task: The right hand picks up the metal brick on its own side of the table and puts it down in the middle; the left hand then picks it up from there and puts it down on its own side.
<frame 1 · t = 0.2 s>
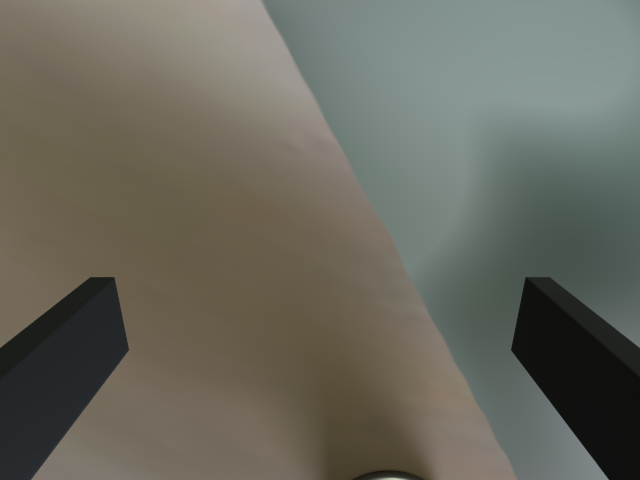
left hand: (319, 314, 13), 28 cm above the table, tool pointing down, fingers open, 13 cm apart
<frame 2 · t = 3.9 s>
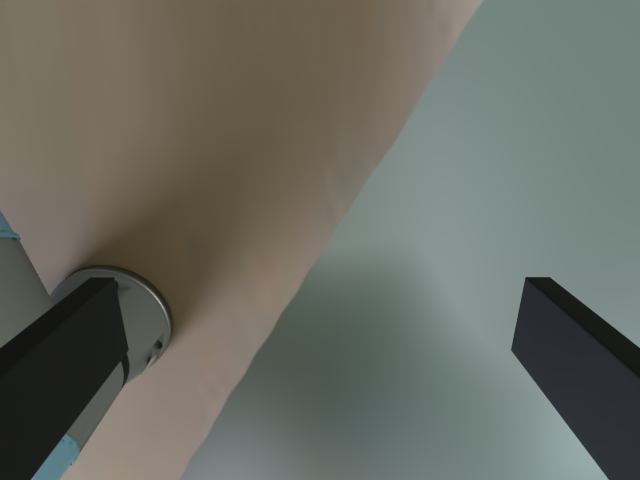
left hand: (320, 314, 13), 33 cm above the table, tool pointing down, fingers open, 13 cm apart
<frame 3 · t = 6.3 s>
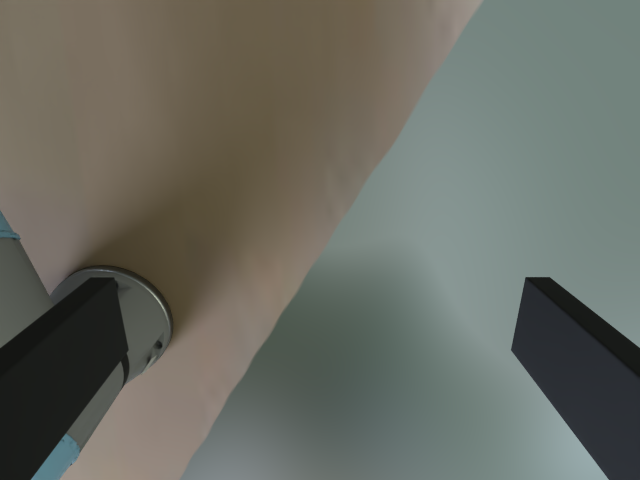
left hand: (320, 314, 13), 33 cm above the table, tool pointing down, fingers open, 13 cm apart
when the right hand's fingers open (3 cm above the table, at t = 9.2 s): brick drops 2 cm, on the table.
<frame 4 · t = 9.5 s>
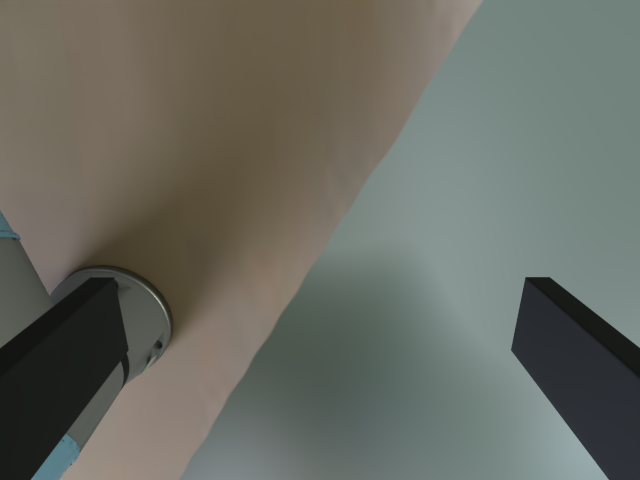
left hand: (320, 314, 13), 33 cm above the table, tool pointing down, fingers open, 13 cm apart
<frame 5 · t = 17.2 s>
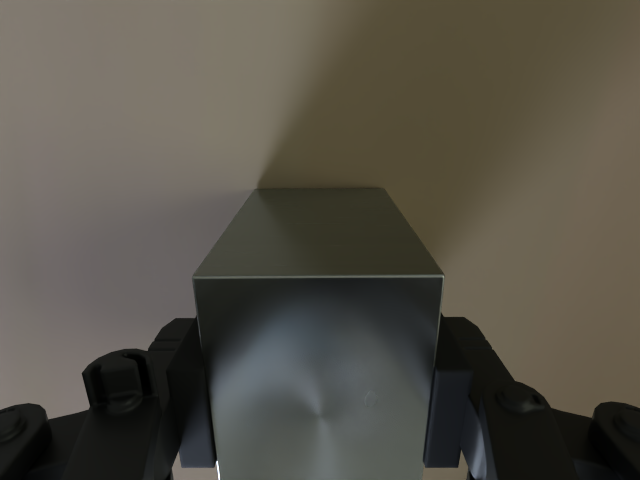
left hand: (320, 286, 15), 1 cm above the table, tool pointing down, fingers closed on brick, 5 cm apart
brick: (319, 271, 16), on the table, touching left hand
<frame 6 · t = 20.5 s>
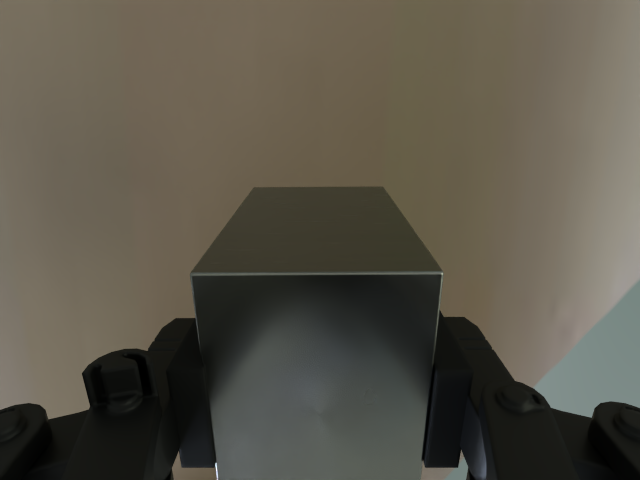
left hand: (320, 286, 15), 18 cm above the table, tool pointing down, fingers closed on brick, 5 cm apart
brick: (319, 270, 16), point 16 cm above the table, touching left hand
when the left hand's fingers open (3 cm above the table, at t = 24.3 s): brick drops 2 cm, on the table.
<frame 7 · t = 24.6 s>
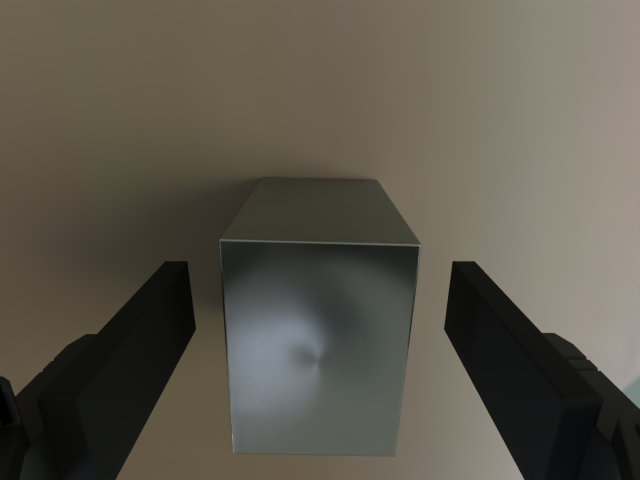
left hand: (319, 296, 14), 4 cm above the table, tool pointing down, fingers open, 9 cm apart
brick: (318, 253, 18), on the table
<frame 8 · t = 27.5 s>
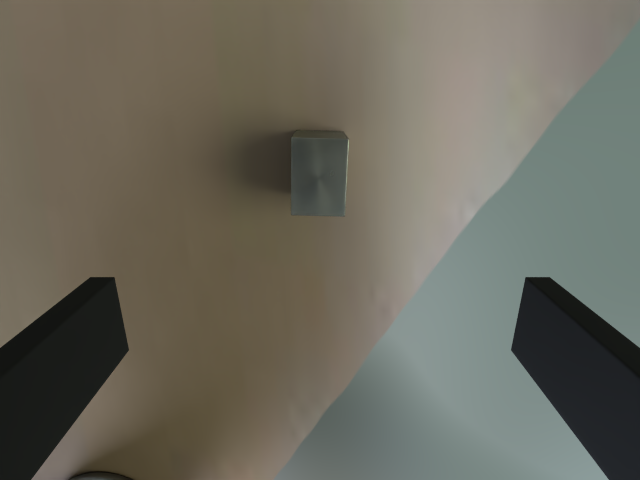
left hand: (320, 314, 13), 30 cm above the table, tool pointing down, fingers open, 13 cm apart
brick: (319, 164, 41), on the table
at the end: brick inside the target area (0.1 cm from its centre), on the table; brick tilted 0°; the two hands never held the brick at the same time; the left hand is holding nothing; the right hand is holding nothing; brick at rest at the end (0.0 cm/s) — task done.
